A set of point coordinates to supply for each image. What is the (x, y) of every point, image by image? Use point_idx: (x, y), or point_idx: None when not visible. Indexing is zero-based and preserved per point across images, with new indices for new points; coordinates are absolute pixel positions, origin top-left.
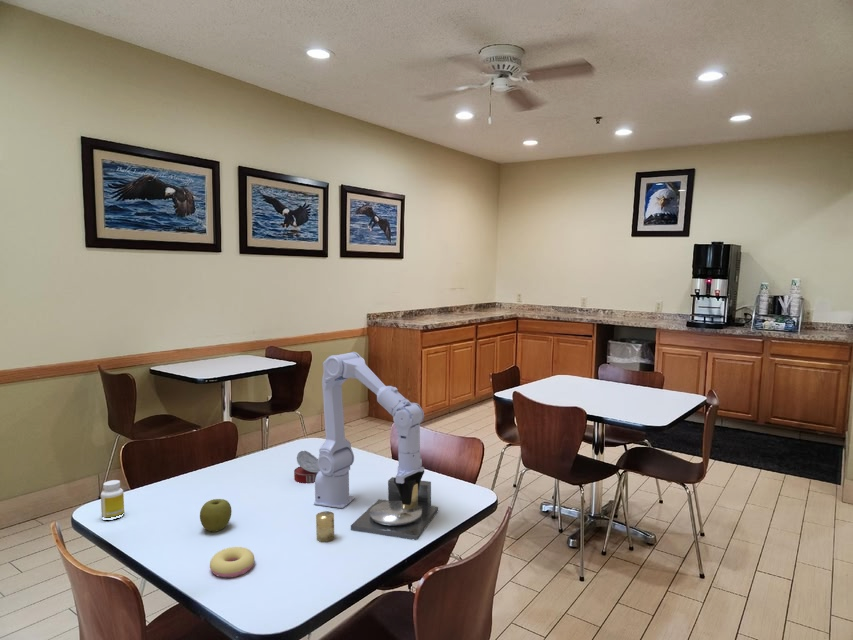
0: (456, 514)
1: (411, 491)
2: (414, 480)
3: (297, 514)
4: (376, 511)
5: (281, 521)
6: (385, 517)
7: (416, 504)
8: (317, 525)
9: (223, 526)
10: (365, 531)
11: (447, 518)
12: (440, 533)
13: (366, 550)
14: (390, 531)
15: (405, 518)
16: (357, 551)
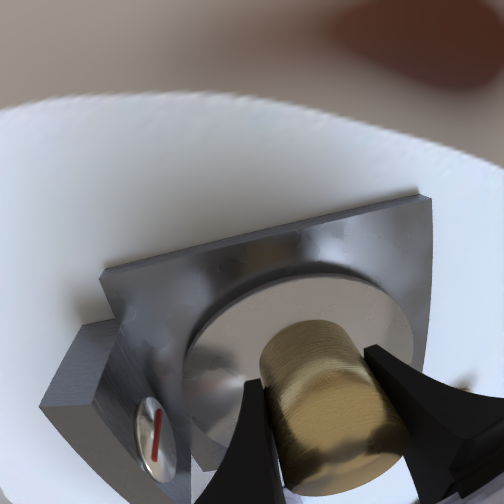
0: (81, 167)
1: (434, 387)
2: (487, 435)
3: (358, 498)
4: None
5: (394, 488)
6: None
7: (319, 330)
8: None
9: None
10: None
11: (147, 179)
12: (323, 123)
13: (496, 292)
14: (429, 304)
15: (364, 314)
16: (501, 307)
